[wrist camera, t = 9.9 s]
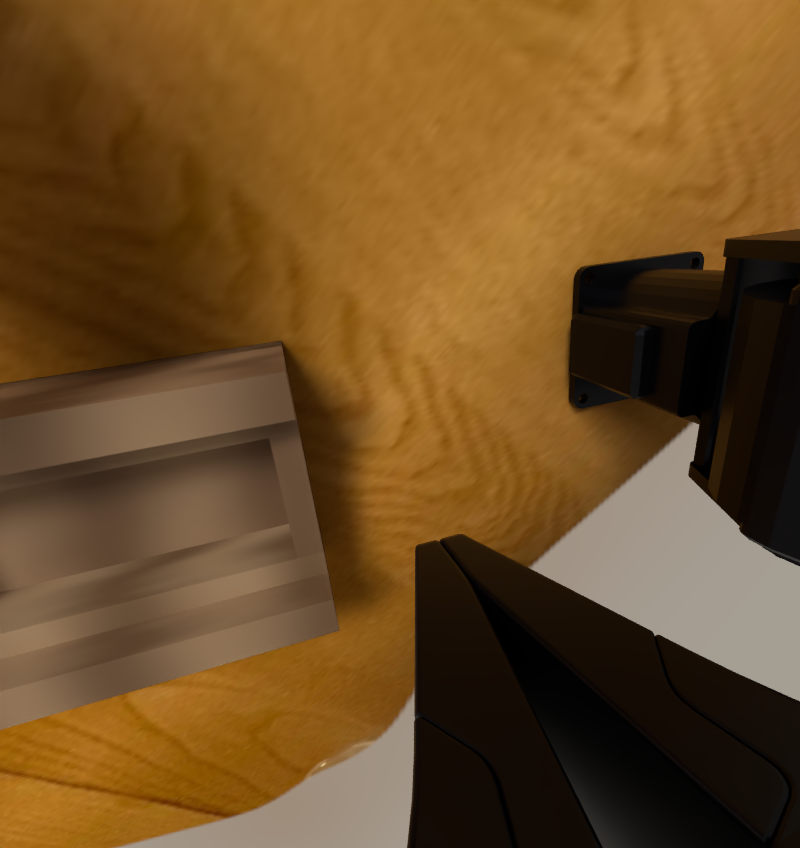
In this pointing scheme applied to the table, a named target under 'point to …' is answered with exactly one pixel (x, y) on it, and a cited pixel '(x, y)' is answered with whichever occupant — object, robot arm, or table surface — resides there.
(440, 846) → the robot arm
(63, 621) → the walnut box
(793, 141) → the table surface
